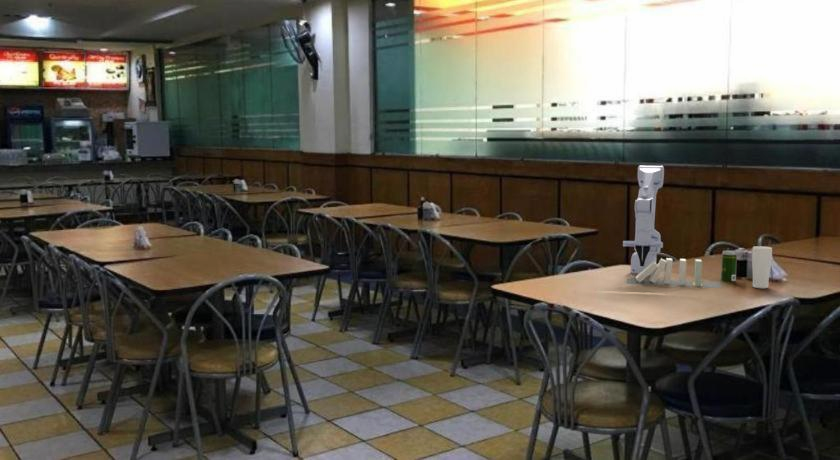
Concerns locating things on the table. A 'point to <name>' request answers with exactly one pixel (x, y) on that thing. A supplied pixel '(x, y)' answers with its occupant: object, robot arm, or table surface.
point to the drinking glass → (761, 266)
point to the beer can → (728, 266)
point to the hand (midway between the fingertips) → (642, 265)
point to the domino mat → (674, 283)
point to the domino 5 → (698, 272)
